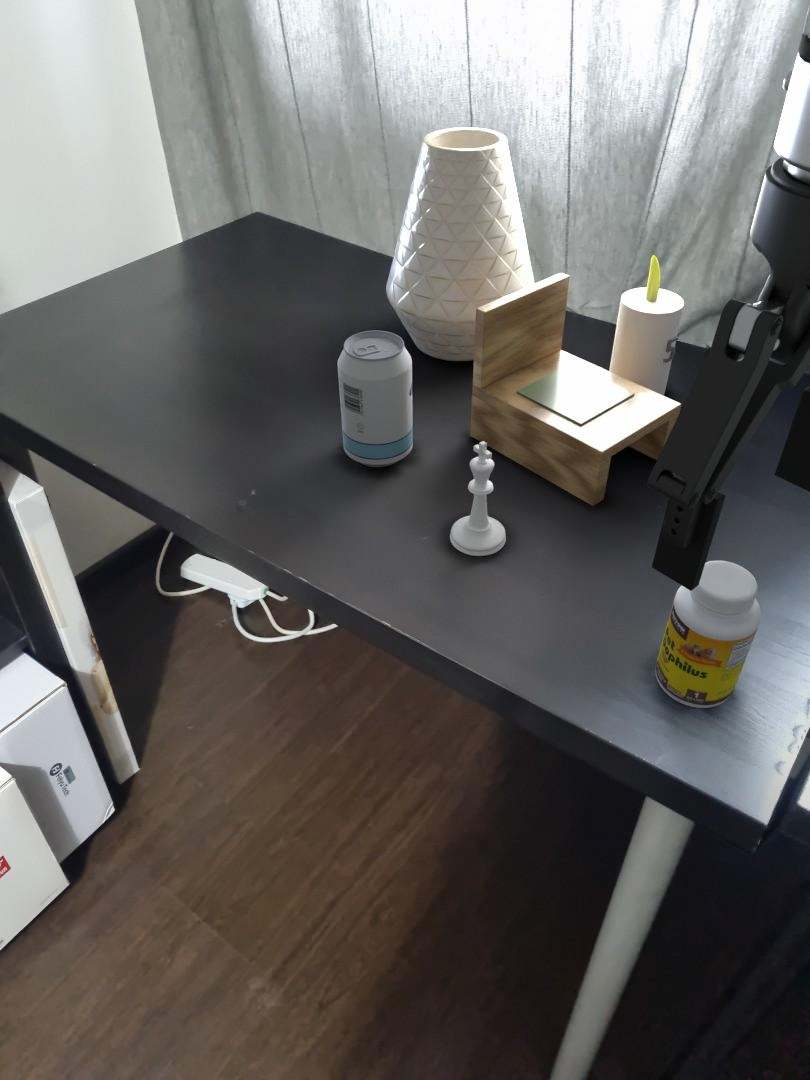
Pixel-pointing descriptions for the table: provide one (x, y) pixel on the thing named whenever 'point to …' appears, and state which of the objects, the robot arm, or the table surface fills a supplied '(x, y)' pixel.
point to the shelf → (556, 395)
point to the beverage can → (376, 398)
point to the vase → (457, 240)
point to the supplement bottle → (709, 636)
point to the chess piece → (479, 512)
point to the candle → (647, 333)
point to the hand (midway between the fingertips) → (739, 526)
